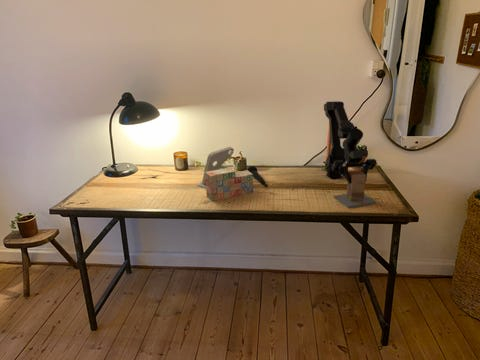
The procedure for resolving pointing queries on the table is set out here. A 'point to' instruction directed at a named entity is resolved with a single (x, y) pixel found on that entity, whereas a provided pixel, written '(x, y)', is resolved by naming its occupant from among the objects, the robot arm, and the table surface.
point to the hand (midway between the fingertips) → (357, 182)
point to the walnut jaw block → (356, 186)
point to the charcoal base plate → (352, 204)
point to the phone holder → (220, 158)
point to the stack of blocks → (228, 183)
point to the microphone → (256, 175)
